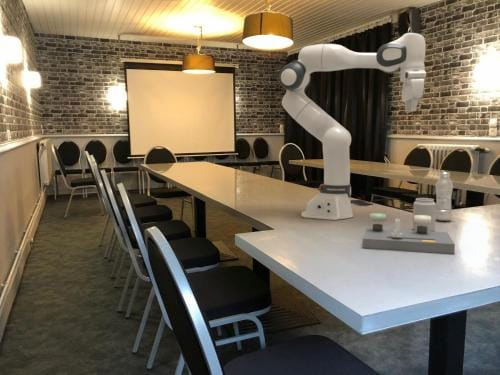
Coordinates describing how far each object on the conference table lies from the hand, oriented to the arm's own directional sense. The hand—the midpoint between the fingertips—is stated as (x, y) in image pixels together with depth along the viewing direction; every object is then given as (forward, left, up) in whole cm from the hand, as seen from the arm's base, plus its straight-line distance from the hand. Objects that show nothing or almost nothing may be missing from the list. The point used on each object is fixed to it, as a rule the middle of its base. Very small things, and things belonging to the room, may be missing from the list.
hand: (410, 111), depth 164 cm
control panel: (-2, -38, -44) cm, 58 cm away
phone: (-21, +43, -45) cm, 66 cm away
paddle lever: (-5, -42, -41) cm, 59 cm away
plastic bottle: (+14, +5, -44) cm, 47 cm away
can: (+5, -16, -45) cm, 48 cm away
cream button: (+3, -33, -38) cm, 50 cm away
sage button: (-11, -33, -37) cm, 51 cm away
